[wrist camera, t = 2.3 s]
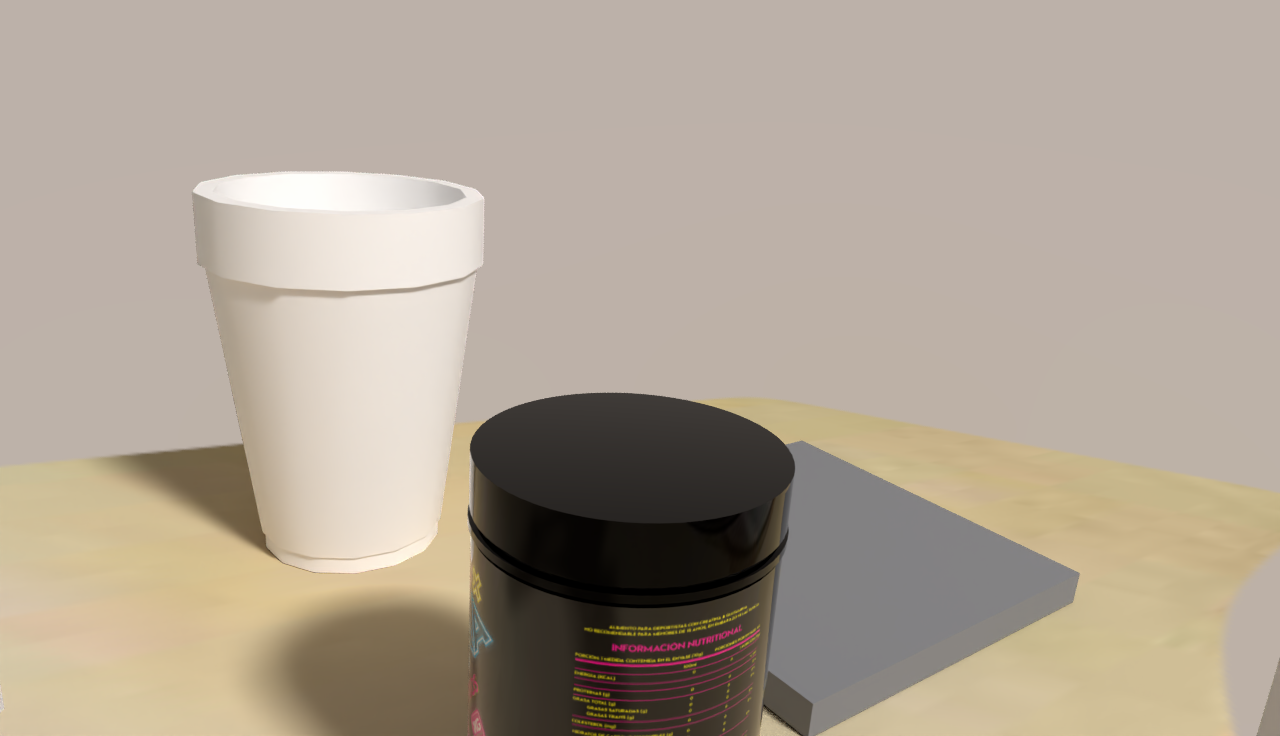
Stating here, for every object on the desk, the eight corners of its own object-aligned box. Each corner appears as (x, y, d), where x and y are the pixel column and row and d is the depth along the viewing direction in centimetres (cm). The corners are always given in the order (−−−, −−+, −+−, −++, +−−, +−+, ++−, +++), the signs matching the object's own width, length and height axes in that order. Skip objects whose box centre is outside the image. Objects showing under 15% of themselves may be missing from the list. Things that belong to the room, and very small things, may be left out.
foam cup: (488, 483, 42) (494, 180, 38) (467, 599, 33) (471, 221, 29) (262, 476, 41) (243, 165, 37) (179, 593, 32) (143, 203, 28)
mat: (547, 533, 38) (548, 505, 38) (798, 463, 46) (801, 440, 46) (807, 739, 27) (813, 703, 27) (1072, 601, 36) (1079, 573, 35)
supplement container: (645, 720, 28) (673, 377, 25) (804, 889, 23) (867, 481, 19) (420, 804, 24) (418, 416, 21) (547, 1030, 19) (571, 557, 16)
